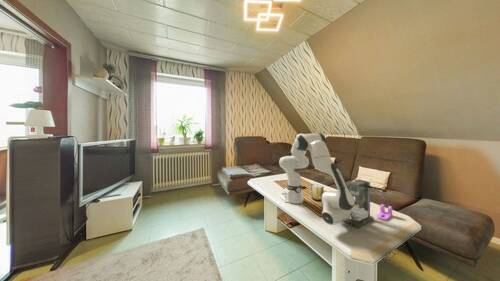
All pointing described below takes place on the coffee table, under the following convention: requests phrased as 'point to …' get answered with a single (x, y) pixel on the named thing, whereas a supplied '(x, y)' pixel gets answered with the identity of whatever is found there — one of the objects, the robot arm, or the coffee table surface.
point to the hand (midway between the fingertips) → (355, 206)
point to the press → (361, 200)
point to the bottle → (357, 207)
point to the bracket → (384, 213)
